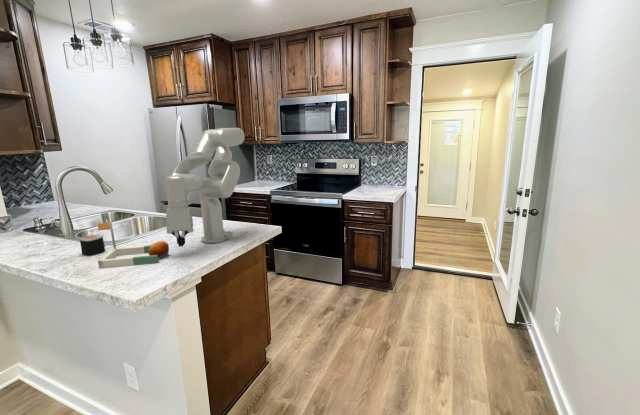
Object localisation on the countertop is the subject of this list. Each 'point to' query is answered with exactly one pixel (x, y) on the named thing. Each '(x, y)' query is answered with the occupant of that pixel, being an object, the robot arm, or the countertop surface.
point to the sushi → (92, 245)
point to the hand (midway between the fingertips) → (181, 245)
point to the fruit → (159, 249)
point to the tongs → (124, 253)
